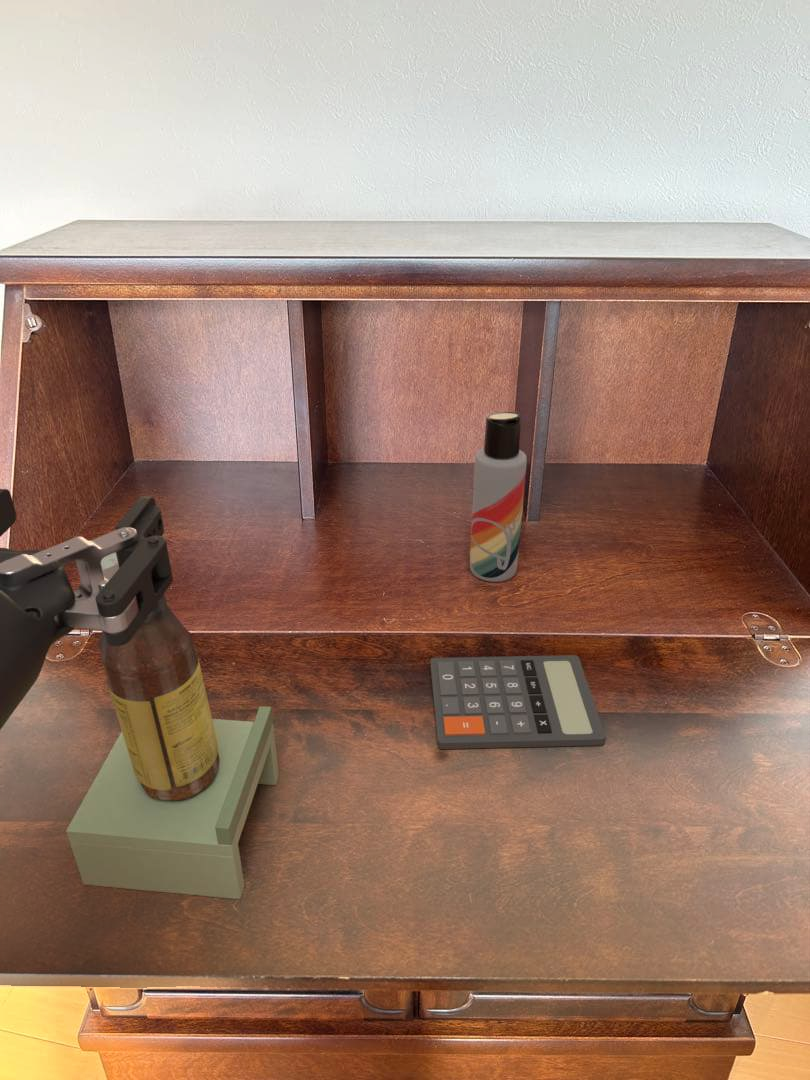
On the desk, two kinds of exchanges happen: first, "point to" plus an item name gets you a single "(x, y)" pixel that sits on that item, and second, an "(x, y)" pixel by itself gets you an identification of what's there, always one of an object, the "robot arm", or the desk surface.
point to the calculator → (513, 702)
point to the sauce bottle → (162, 705)
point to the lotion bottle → (498, 499)
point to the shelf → (174, 819)
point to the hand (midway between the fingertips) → (78, 506)
